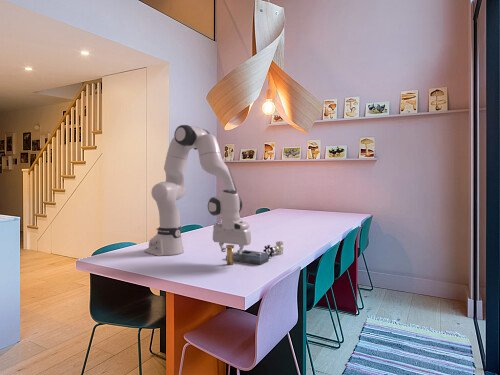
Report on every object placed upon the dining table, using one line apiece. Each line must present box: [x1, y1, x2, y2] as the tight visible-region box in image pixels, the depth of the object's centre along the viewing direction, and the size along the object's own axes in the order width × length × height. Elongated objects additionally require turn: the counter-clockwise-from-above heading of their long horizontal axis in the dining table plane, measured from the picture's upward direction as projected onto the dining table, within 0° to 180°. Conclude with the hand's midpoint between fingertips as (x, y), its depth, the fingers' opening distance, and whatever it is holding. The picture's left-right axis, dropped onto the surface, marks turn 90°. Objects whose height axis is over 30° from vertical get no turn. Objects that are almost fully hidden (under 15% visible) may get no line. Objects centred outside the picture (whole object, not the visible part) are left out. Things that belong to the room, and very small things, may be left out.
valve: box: [262, 241, 284, 259], centre depth 178 cm, size 7×7×12 cm
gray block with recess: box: [225, 249, 269, 266], centre depth 168 cm, size 20×8×5 cm, turn 57°
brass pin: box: [225, 244, 235, 266], centre depth 161 cm, size 4×4×9 cm
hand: (231, 252), depth 161 cm, fingers open, 8 cm apart
